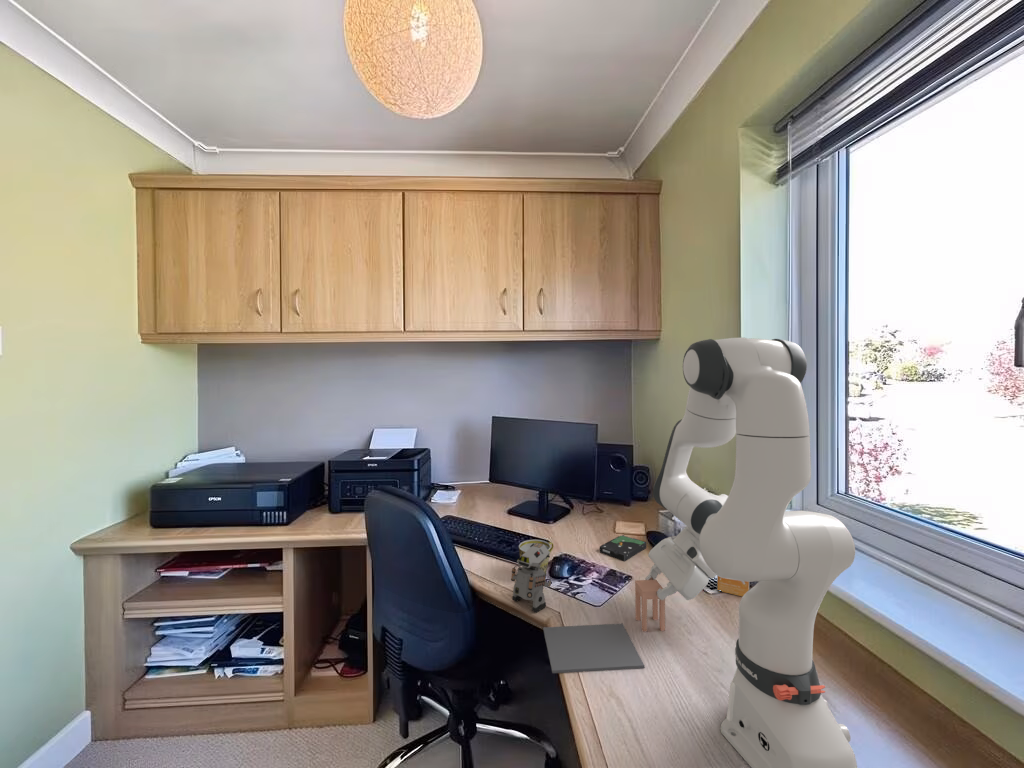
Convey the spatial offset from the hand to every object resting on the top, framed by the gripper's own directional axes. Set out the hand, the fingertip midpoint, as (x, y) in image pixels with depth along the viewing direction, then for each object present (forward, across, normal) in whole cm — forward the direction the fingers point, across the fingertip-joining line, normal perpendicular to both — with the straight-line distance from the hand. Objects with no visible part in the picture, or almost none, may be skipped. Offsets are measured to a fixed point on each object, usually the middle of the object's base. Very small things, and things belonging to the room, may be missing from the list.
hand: (653, 589), depth 106 cm
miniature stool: (+7, 0, +6) cm, 9 cm away
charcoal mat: (+19, +8, -6) cm, 21 cm away
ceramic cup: (+25, -27, -12) cm, 38 cm away
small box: (-14, -14, +27) cm, 34 cm away
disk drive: (+2, -43, +11) cm, 44 cm away
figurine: (+27, -13, -14) cm, 33 cm away
